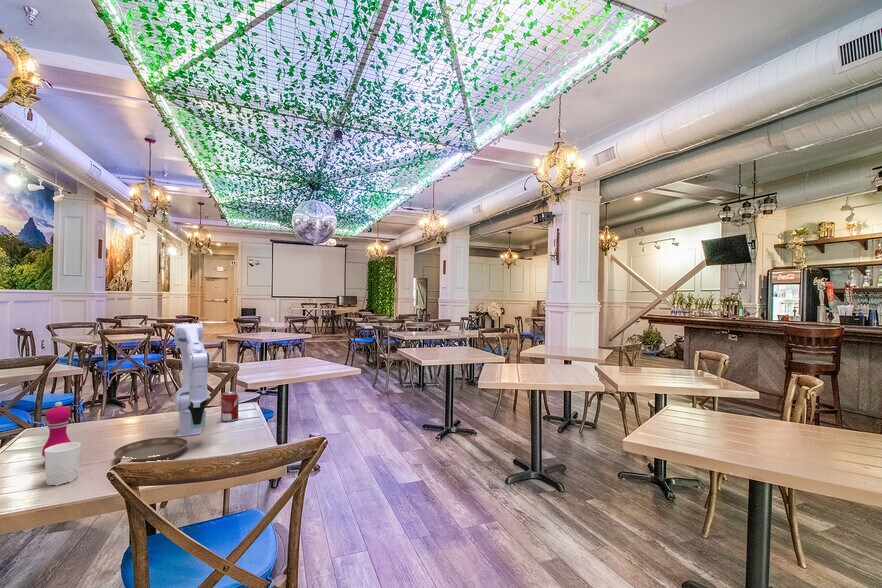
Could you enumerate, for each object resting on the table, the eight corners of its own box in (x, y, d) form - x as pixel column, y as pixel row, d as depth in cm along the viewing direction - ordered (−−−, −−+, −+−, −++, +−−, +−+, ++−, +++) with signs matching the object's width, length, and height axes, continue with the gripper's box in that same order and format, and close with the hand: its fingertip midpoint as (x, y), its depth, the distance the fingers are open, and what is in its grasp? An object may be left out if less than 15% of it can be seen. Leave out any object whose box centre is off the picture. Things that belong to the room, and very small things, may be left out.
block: (191, 425, 151) (191, 411, 151) (205, 423, 153) (205, 410, 153) (190, 429, 147) (190, 415, 147) (204, 427, 149) (205, 413, 149)
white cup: (87, 474, 124) (87, 442, 124) (64, 487, 116) (64, 452, 116) (60, 474, 124) (61, 442, 124) (35, 487, 116) (36, 452, 116)
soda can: (230, 423, 176) (231, 395, 176) (217, 421, 177) (217, 394, 177) (241, 418, 182) (242, 391, 182) (228, 417, 184) (228, 390, 184)
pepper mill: (70, 457, 137) (71, 397, 137) (74, 463, 132) (75, 401, 132) (40, 464, 131) (41, 402, 131) (43, 470, 127) (44, 406, 127)
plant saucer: (192, 442, 153) (192, 433, 153) (180, 463, 134) (181, 453, 134) (125, 449, 145) (125, 440, 145) (103, 473, 126) (103, 462, 126)
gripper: (209, 388, 145) (209, 426, 145) (211, 380, 158) (211, 415, 158) (186, 390, 142) (185, 429, 142) (190, 382, 155) (189, 417, 155)
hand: (197, 422), depth 150 cm, fingers closed on block, 4 cm apart
